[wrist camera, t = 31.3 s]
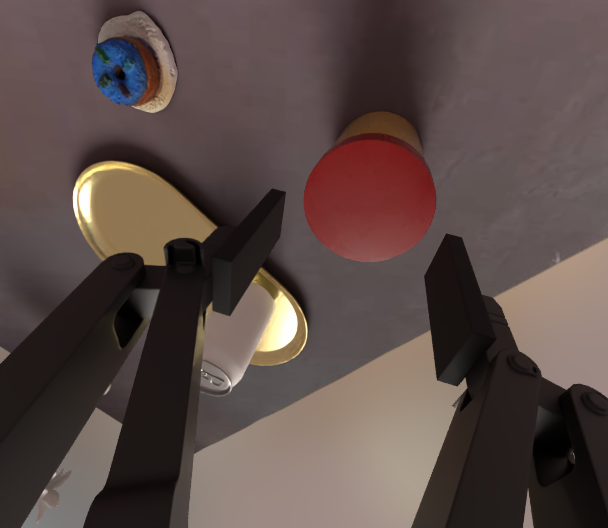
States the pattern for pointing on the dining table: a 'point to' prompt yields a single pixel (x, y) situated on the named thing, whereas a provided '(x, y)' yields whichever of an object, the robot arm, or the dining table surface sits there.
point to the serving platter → (165, 227)
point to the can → (234, 340)
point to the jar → (383, 128)
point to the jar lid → (370, 197)
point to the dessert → (134, 63)
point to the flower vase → (49, 494)
